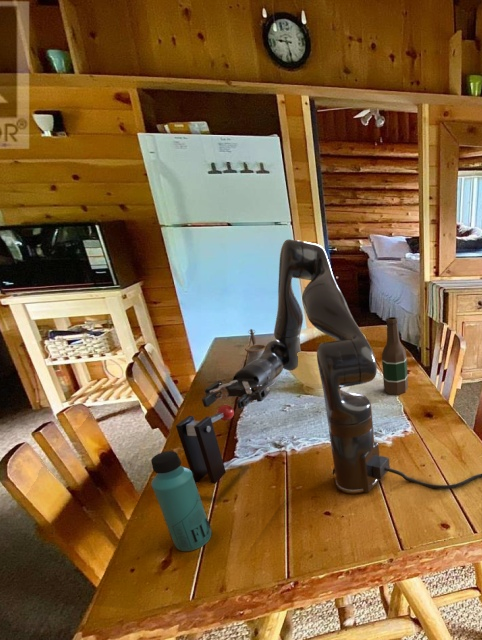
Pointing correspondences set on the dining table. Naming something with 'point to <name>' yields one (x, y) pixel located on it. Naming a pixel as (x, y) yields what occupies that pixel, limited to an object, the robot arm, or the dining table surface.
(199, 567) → the dining table surface
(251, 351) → the coffee pot
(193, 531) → the beverage bottle
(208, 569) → the dining table surface
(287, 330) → the robot arm
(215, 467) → the tap bracket
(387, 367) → the beer bottle
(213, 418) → the tap lever
